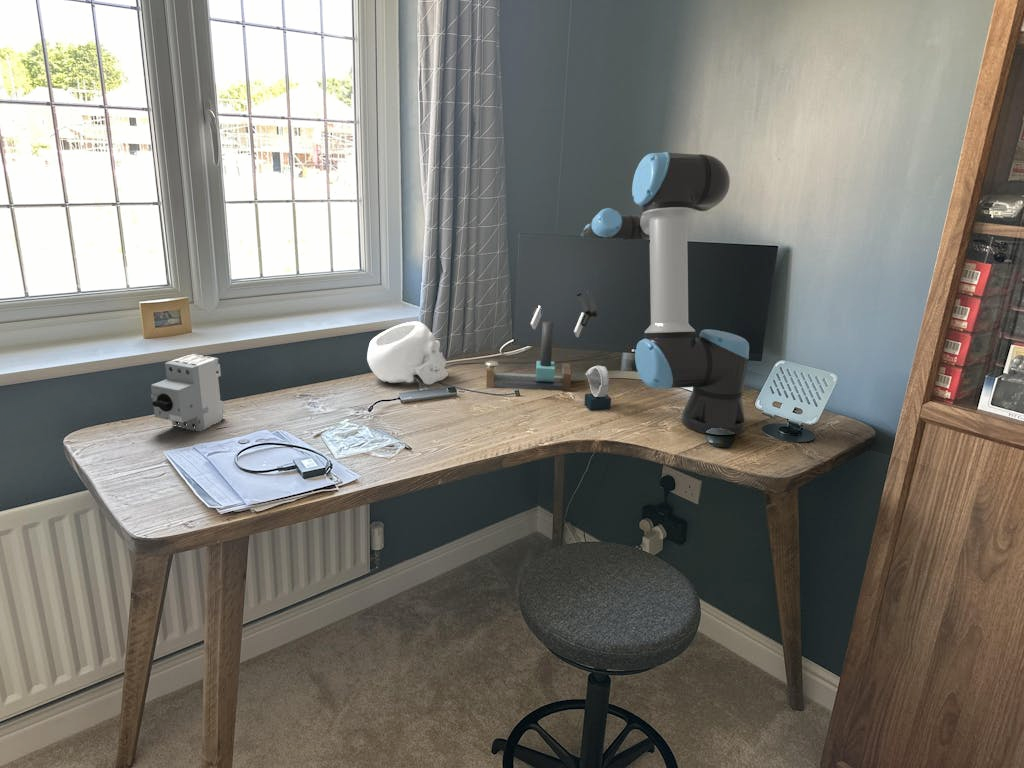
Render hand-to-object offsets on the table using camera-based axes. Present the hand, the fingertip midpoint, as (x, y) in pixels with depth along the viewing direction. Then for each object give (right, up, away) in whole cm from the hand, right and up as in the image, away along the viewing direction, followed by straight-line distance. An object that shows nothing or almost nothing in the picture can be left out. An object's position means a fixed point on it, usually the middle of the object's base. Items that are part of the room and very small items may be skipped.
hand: (554, 330), depth 198 cm
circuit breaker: (-85, -25, -40) cm, 97 cm away
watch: (+10, -21, -16) cm, 28 cm away
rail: (-7, -15, -1) cm, 17 cm away
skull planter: (-41, -14, -2) cm, 43 cm away
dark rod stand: (-3, -13, -1) cm, 14 cm away
